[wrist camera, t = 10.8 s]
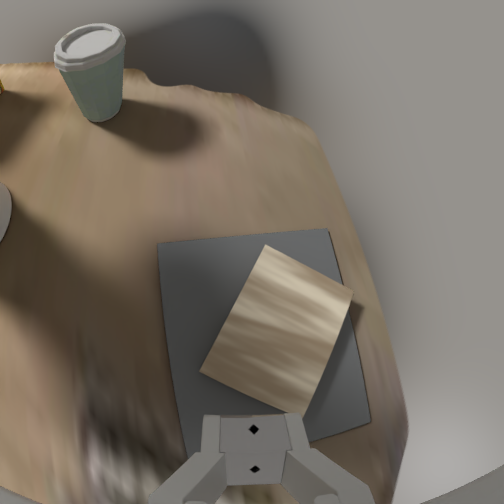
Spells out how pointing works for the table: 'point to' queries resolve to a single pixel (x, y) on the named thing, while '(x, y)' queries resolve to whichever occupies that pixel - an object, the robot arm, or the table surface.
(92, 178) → the table surface
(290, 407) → the ash tile
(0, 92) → the food package
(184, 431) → the charcoal mat
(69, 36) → the disposable coffee cup
